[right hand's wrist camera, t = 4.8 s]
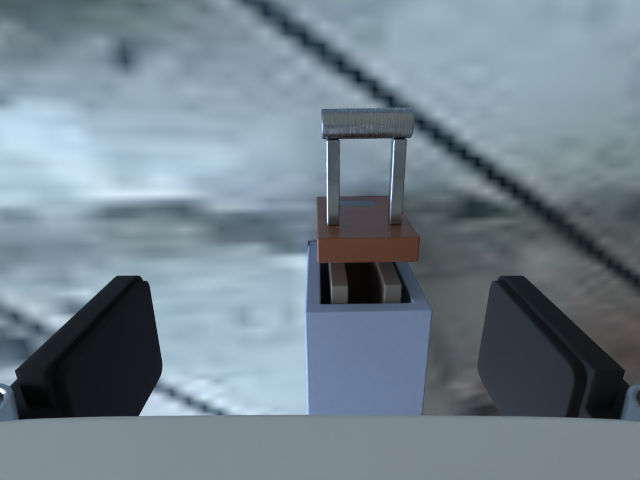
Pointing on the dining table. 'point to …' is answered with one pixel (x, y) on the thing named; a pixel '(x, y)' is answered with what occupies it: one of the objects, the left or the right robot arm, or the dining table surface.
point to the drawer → (365, 212)
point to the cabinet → (365, 348)
